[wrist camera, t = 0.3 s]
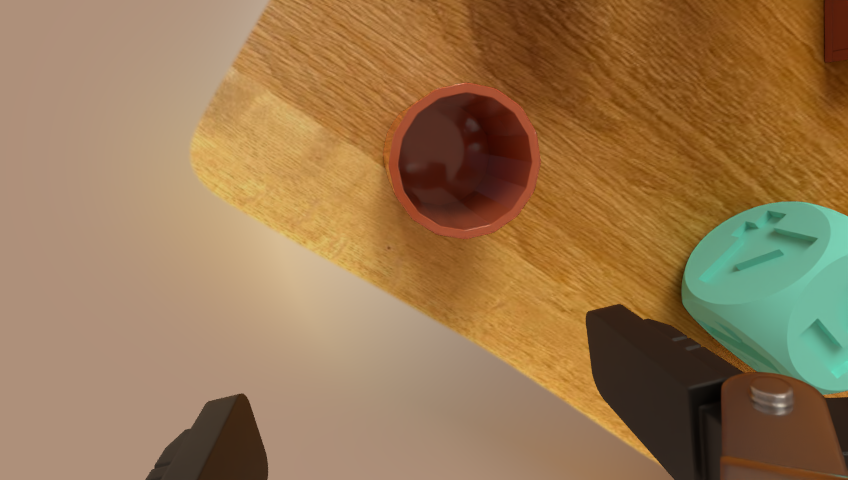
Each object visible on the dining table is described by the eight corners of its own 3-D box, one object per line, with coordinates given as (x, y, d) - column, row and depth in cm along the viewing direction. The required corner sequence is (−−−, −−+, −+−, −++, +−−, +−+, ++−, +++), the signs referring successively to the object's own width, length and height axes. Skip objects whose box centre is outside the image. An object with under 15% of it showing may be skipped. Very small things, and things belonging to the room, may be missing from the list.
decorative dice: (656, 280, 31) (752, 330, 23) (747, 191, 31) (877, 211, 23) (727, 354, 33) (837, 422, 25) (814, 271, 32) (954, 314, 25)
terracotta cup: (372, 110, 27) (374, 101, 19) (482, 87, 27) (527, 69, 19) (397, 219, 28) (407, 253, 21) (500, 196, 29) (549, 219, 21)
